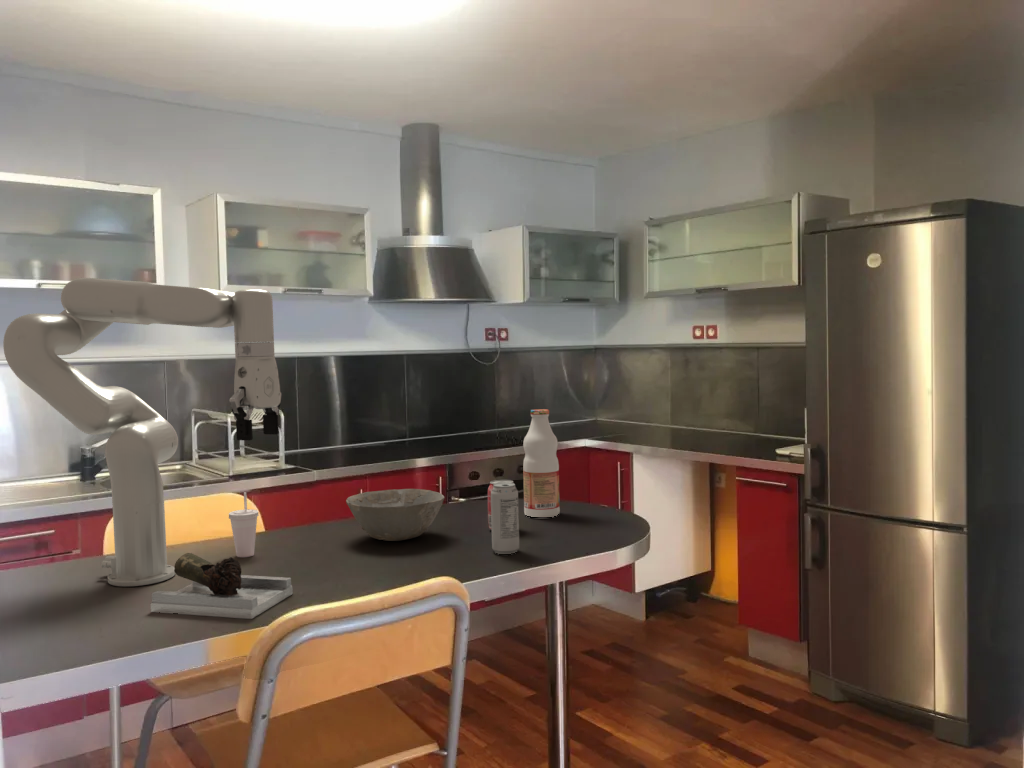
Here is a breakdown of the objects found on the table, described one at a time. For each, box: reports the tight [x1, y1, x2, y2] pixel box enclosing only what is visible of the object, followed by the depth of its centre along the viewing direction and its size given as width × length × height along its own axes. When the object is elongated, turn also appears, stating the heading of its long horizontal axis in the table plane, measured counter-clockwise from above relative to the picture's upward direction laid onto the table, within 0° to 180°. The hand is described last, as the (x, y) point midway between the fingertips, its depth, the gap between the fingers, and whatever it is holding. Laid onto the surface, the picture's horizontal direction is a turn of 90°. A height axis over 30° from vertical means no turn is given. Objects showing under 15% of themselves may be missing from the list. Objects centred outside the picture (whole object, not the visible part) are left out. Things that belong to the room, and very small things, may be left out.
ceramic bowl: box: [345, 488, 445, 542], centre depth 197 cm, size 22×23×10 cm
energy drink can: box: [491, 482, 520, 555], centre depth 182 cm, size 6×6×15 cm
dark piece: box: [173, 552, 242, 595], centre depth 152 cm, size 18×7×6 cm, turn 48°
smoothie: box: [228, 491, 260, 558], centre depth 184 cm, size 6×6×14 cm
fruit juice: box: [522, 408, 561, 518], centre depth 218 cm, size 9×9×28 cm
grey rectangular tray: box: [150, 574, 294, 620], centre depth 151 cm, size 20×14×3 cm
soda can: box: [487, 479, 514, 531], centre depth 203 cm, size 7×7×12 cm
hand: (258, 437), depth 166 cm, fingers open, 9 cm apart
